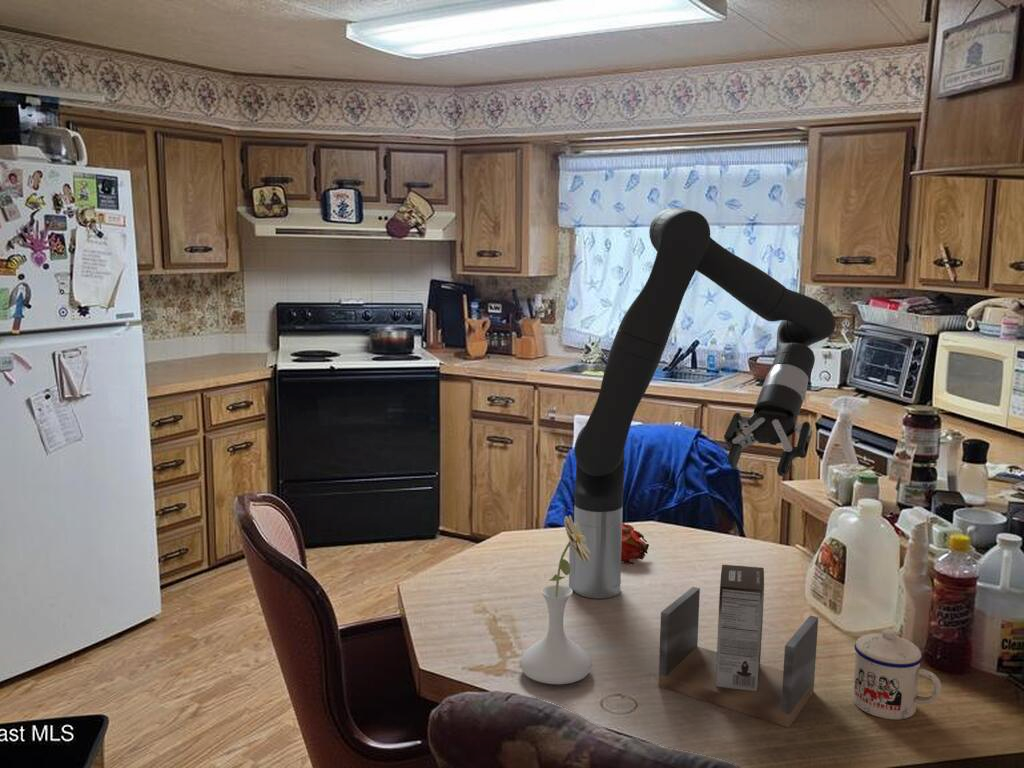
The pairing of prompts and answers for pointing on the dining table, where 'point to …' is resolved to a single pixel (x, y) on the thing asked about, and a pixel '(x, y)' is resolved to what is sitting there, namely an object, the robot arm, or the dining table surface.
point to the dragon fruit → (632, 545)
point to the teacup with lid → (889, 676)
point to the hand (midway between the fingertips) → (755, 469)
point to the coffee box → (740, 627)
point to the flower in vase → (559, 627)
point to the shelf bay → (697, 666)
